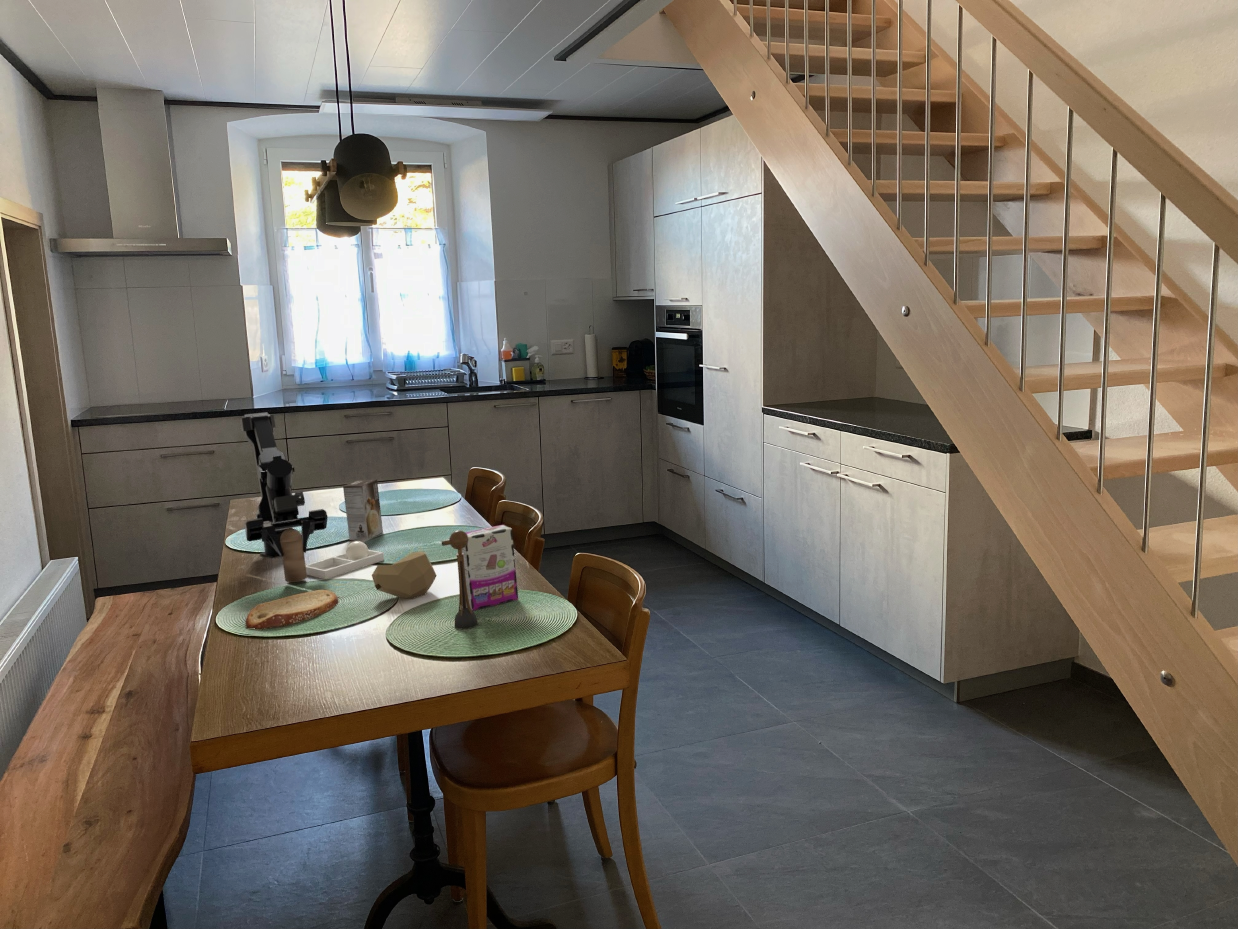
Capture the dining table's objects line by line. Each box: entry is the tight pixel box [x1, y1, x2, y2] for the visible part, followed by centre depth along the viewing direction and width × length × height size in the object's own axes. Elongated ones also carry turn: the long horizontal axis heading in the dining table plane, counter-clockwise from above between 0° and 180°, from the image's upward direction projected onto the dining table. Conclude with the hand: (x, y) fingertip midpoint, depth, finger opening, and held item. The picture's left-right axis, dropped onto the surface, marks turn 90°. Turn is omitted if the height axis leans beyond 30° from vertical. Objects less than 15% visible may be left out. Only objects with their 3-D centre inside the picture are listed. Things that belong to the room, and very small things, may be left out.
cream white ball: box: [345, 540, 369, 561], centre depth 233 cm, size 6×6×6 cm
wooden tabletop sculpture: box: [441, 529, 479, 630], centre depth 183 cm, size 6×5×20 cm
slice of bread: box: [245, 589, 339, 630], centre depth 198 cm, size 18×18×4 cm
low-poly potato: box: [371, 550, 437, 600], centre depth 205 cm, size 15×11×12 cm
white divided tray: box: [305, 549, 385, 580], centre depth 230 cm, size 9×18×2 cm, turn 143°
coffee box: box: [342, 479, 384, 541], centre depth 260 cm, size 9×6×16 cm
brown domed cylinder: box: [280, 528, 308, 583], centre depth 218 cm, size 5×5×12 cm
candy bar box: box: [462, 524, 519, 611], centre depth 196 cm, size 11×5×16 cm, turn 122°
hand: (293, 553), depth 216 cm, fingers closed on brown domed cylinder, 5 cm apart
